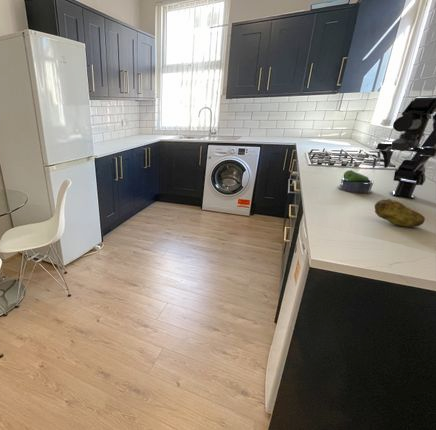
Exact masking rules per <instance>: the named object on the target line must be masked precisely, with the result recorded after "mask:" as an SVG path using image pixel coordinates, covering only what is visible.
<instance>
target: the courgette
mask: <svg viewBox="0 0 436 430" xmlns="http://www.w3.org/2000/svg"><path fill="white" fill-rule="evenodd" d="M343 177H344V178H345V179H346V180H349V181H353V182H360V183H367V182H368V181H369V180H370V178H369V177H368V176H367V175H365V174H362V173H359V172H357V171H354V170H352V169H350V170H346V171H345V172H344V173H343Z"/></svg>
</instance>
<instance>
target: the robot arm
mask: <svg viewBox="0 0 436 430" xmlns="http://www.w3.org/2000/svg"><path fill="white" fill-rule="evenodd" d="M430 119H432V123H431V124H432V131H431V132H430V134H429V135H428V136H427V137H426V139H425V140H424V141H423V143H422V144H420V143H421V140H422V138H424V137H425V131H426V128H427V126H428V123H429V121H430ZM392 128H393V129H394V131H396V132H402V133H401V134H400V135H399V137H398V138H396V139H394V140H392V141H391V142H387V141H384V142H378V143H377V144H376V145H375V150H378V152H379V153H381V154H382V157H383V158H382V159H383V166H384V168H388V166H389V164H390V161H391V158H392V156H393V153H394V151H400V152H412V153H414V155H412V157H411V158H410V159H404V160H403V161H402V162H401V164H399V166H398V167H397V168H396V169H395V171H394V175H393V181H394V182H397V185H396V187H395V190H393V191H392V196H393V197H394V196H395V197H402V198H408V199H414V195H413V194H414V192H415V190H416V186H423V185H424V183H425V182H426V173H425V172H426V163H427V162H428V161H429V160H430V159H431V158H435V157H436V96H417V97H414V99H413V100H411V101H410V102H409V103H408V105H407V106H406V107H405V109H404V110H403V111H402V113H401V116H400V117H398V118H396V119H395V120H394V121H393V123H392Z"/></svg>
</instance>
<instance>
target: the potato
mask: <svg viewBox="0 0 436 430" xmlns="http://www.w3.org/2000/svg"><path fill="white" fill-rule="evenodd" d="M374 213H375V214H376V215H377V216H378V217H379V218H381V219H383V220H385V221H387V222H389V223H390V224H393V225H395V226H399V227H406V228H407V227H408V228H410V227H411V228H413V227H419V226H422V225H423V224H424V223H425V220H426V218H425V216H424V215H423V214H421V213H420V212H418V211H416V210H414V209H411V208H409V207H408V206H406V205H405V204H403V203H402V202H400V201H398V200H394V199H390V198H388V199H387V198H385V199H380V200H378V201H377V202H376V203H375V204H374Z"/></svg>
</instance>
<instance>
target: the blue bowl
mask: <svg viewBox="0 0 436 430" xmlns="http://www.w3.org/2000/svg"><path fill="white" fill-rule="evenodd" d="M373 185H374V180H371V179H369V181H368V182H367V183H360V182H353V181H349V180H346V179H345V178H344V176H343V177H341V180H340V183H339V186H338V189H340V190H341V191H344V192H348V193H353V194H370V193H371V190H372V188H373Z"/></svg>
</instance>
